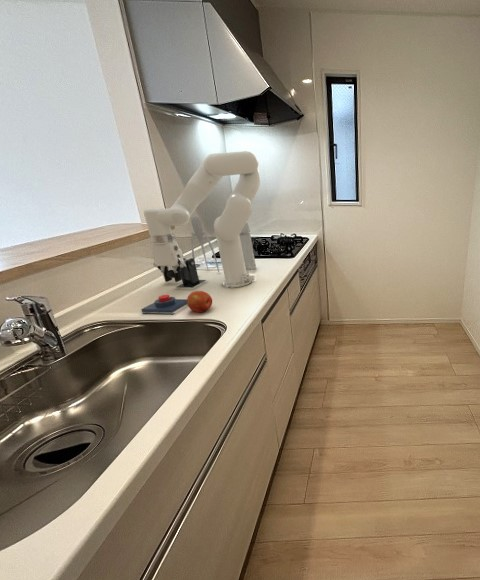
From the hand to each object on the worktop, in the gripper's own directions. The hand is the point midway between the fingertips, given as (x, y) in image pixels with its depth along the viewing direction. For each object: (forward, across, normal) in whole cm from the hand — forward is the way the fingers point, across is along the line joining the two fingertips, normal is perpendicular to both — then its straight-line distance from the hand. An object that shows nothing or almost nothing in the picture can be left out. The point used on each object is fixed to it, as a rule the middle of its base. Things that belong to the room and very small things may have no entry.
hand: (173, 280), depth 135 cm
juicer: (+6, +2, -28) cm, 29 cm away
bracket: (+6, 0, -10) cm, 12 cm away
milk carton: (+6, +10, -14) cm, 18 cm away
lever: (-2, 0, -5) cm, 5 cm away
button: (+2, -8, +16) cm, 18 cm away
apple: (+6, -23, +17) cm, 29 cm away
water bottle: (+6, -14, -36) cm, 39 cm away
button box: (+6, -8, +16) cm, 19 cm away
